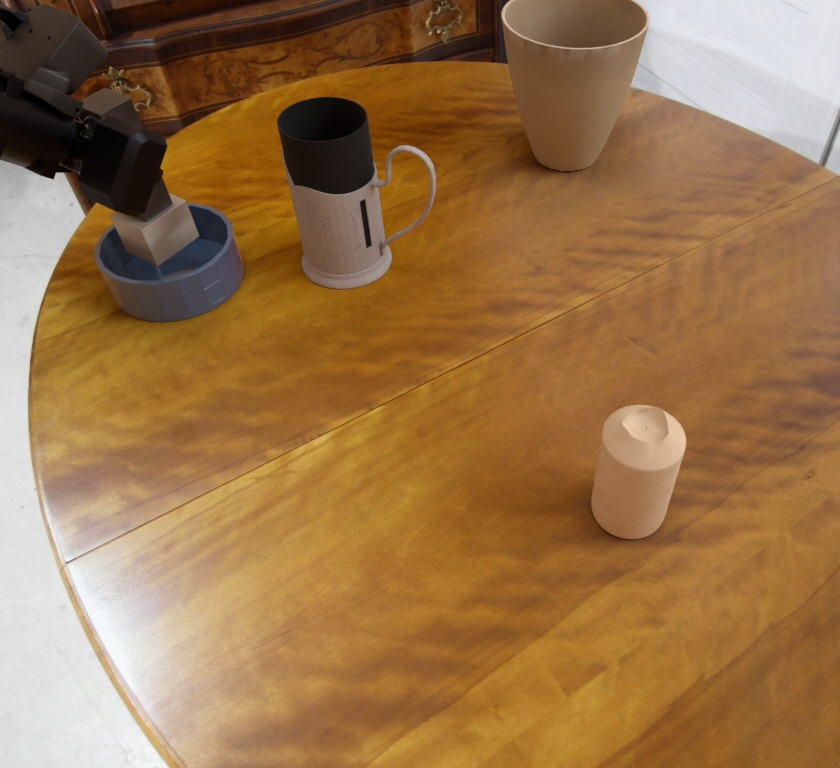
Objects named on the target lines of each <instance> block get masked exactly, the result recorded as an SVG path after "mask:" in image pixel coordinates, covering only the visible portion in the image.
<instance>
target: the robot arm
mask: <svg viewBox="0 0 840 768" xmlns="http://www.w3.org/2000/svg"><path fill="white" fill-rule="evenodd" d="M25 8H26V10H27V11H29V12H28V13H27V12H23V11H21V10H18V9H15V8H13V7H9V6H7V5H4V4H1V3H0V161H2V162H6V163H8V164H12V165H15V166H18V167H22V168H23V169H25V170H28V171H30V172H32V173H34V174H37V175H39V176H41V177H43V178H47V179H50V180H53V181H54V180H55V177H56V174H64V173H65V174H66V173H67V174H68V173H77V174H79V175H78V177H77V184H78V186H79V188H80V190H81V192H82V195H83V197H84V198H86V199H88V200H90V201H92V202H94V203H96V204H98V205H100V206H102V207H105V208H107V209H110V210H112V211H113V212H119V213H122V214H126V215H129V216H133V217H136V218H137V217H139V216H140V215H142V214H144V213H145V210H146V207H147V204H148V202H149V199H150V196H151V193H152V190H153V187H154V184H156V183H159V182H160V181H161V178H163V176H164V170H163V169H162V167H161V166H162V164H163V161H164V158H165V155H166V152H167V150H168V144H167V141H166V136H163V135H161V134H159V133H156V132H154V131H152V130H151V129H147V128H145V127H143V126H142V127H140V126H138V125H135V124H133V123H130V122H128V121H125V120H123V119H121V118H118V117H116V116H113V115H111V116H109V115H107V116H106V118H105V119H103V120H99V119H96V118H94V117H91V116H88V117H86V118H85V119H84V120H83V122H81V120H80V117H79V116H80V113H81V110H82V107H83V104H84V102H82V101H81V100H79V99H77V98H75V97H72V96H71V95H73V94H75V93H77V92H78V91H79V90H80V89H81V88H82V87H83V85H84V84H85V83H86V81H87V80H88V78H89V77H90V76H91V75H92V74H93V72H94V71H95V69H96V68H97V67H98V66H102V65H103V63H104V62H106V59H107V58H108V54H109V50H108V48H107V47H106V46H105V45H104V44H103V42H101V40H100V39H99V38H97V36H96V34H94V33H93V32H92V31H91V30H90V28H89V27H88V26H87V25H86V24H85V23H84V22H83V21H82V20H81V18H79V16H77V14H74V13H72V12H69V11H66V10H64V9H62V8H61V9H60V8H58V7H55V6H52V5H49V4H45V3H44V4H39V5H37V6H36V5H34V4H31V3H28V4H27V6H25ZM88 136H89V137H88Z"/></svg>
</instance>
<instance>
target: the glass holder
mask: <svg viewBox="0 0 840 768" xmlns="http://www.w3.org/2000/svg"><path fill="white" fill-rule="evenodd" d="M276 125H277V130H278V135H279V139H280V143H281V157H282V163H283V166H284V171H285V175H286V179H287V183H288V188H289V193H290V198H291V203H292V205H293V210H294V214H295V219H296V225H297V228H298V232H299V238H300V242H301V246H302V250H303V255H302V259H301V268H302V271H303V273H304V275H305V276H306V277H307V278H308V279H309V280H310V281H311V282H312V283H314V284H316V285H319V286H321V287H325V288H327V289H334V290H350V289H356V288H360V287H363V286H367V285H369V284H371V283H373V282H376V281H377V280H379V279H380V278H381V277H382V276H384V275H385V274H386V273H387V271H388V270H389V269H390V267H391V265H392V262H393V261H392V260H393V253H392V250H391V247H390V246H389V245H390V244H391V243H393V242H395V241H396V240H398V239H399V238H401V237H403V236H404V235H407V234H408V233H410V232H411V231H412V230H414V229H416V228H417V227H419V226H420V225H421V224H423V222H424V221H425V219H426V218H427V216H428V214H429V213H430V210H431V208H432V206H433V204H434V200H435V196H436V191H437V183H436V182H437V175H436V170H435V165H434V163H433V162H432V160H431V158H430V157H429V156H428V155H427V154H426V153H425V152H424V151H423V150H421V149H419V148H418V147H416V146H413V145H409V144H403V145H398V146H397V147H394V148H393V149H392V150H391V151H390V152H389V153H388V155H387V157H386V160H385V165H384V168H385V169H384V172H385V180H380V179H378V172H377V171H378V170H377V166H376V163H375V161H374V157H373V149H372V140H371V139H372V138H371V133H370V125H369V118H368V112H367V109H365V108H364V106H363V105H361V104H360V103H359V102H356V101H354V100H352V99H349V98H344V97H337V96H318V97H311V98H307V99H302V100H299V101H297V102H294V103H293V104H291V105H289V106H287V107H285V109H282V111H281V112H280V113H279V115H278V116H277V119H276ZM399 153H408V154H412V155H414V156H415V157H418V158H419V159H420V160H421V161H422V162H423V163H424V165H425V167H426V168H427V170H428V174H429V180H430V181H429V182H430V184H429V185H430V186H429V196H428V199H427V200H428V202H427V204H426V206H425V208H424V209H423V212H422V213H421V215H420V216H419V218H417V219H416V220H415V221H414V222H412V223H411V224H410V225H408V226H406V227H405V228H403V229H402V230H399V231H398V232H395V233H394V234H393V235H391V236H389V237H388V238H387V239H386V234H385V228H384V220H383V210H382V203H381V195H380V194H381V193H380V188H385V187H386V186H388V185H389V184H390V182H391V180H392V161H393V158H394V157H395V155H396V154H399Z"/></svg>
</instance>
